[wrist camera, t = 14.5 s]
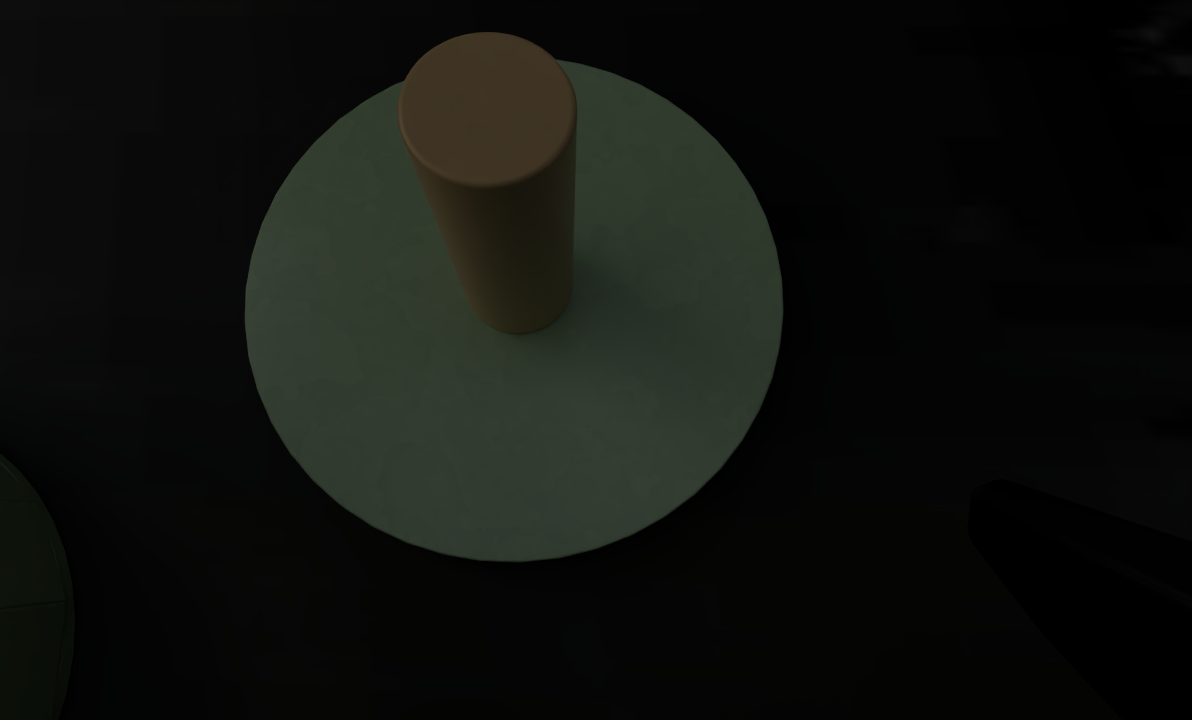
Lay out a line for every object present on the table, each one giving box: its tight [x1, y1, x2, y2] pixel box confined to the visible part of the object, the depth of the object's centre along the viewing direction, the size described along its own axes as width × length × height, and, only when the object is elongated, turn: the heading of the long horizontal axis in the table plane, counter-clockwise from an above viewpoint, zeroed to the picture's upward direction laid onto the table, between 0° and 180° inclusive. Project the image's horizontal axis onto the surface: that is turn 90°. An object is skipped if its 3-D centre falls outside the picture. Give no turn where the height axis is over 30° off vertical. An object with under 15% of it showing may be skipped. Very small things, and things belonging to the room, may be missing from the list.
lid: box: [245, 32, 783, 562], centre depth 14 cm, size 13×13×8 cm
